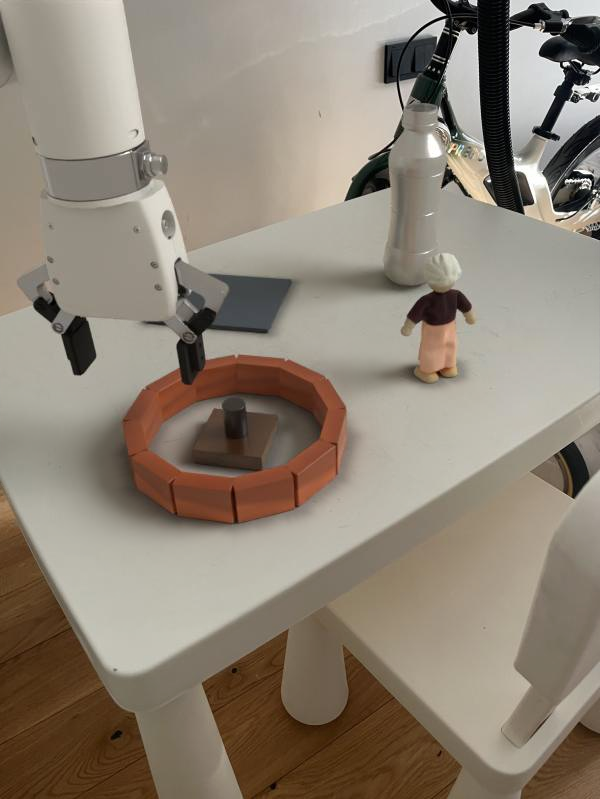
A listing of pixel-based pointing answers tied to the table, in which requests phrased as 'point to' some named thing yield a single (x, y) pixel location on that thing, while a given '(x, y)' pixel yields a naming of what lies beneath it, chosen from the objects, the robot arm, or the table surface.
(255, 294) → the mat
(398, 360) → the table surface
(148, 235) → the robot arm
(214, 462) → the post
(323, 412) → the hoop
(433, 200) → the plastic bottle
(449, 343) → the grandmother figurine
